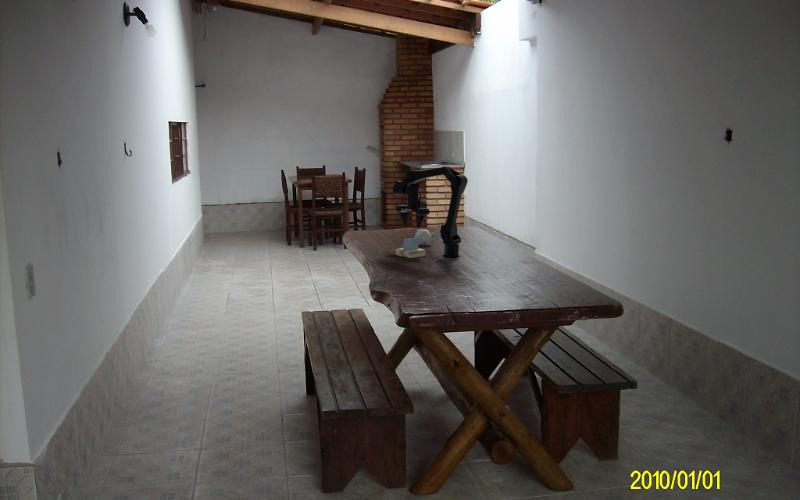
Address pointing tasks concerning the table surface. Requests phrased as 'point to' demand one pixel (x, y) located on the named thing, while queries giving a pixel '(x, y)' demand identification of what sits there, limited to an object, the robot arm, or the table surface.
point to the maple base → (410, 252)
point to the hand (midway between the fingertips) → (412, 227)
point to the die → (423, 236)
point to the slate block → (411, 244)
